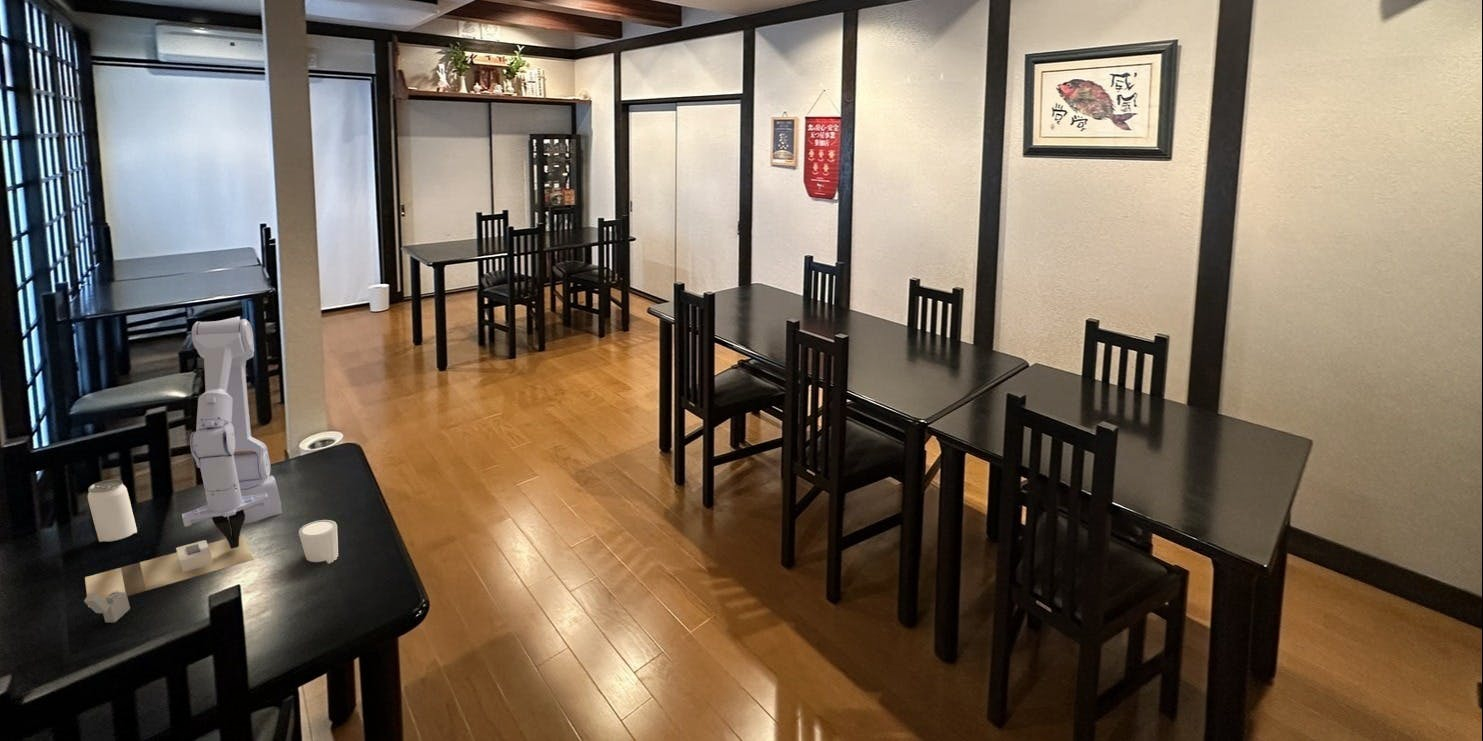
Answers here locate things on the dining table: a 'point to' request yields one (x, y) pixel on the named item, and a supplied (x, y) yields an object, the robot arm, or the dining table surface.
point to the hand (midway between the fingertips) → (234, 545)
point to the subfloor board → (163, 570)
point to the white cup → (320, 541)
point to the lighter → (109, 605)
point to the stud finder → (194, 555)
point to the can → (111, 510)
